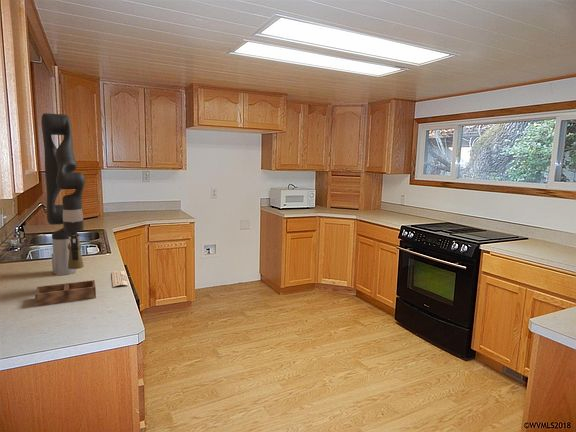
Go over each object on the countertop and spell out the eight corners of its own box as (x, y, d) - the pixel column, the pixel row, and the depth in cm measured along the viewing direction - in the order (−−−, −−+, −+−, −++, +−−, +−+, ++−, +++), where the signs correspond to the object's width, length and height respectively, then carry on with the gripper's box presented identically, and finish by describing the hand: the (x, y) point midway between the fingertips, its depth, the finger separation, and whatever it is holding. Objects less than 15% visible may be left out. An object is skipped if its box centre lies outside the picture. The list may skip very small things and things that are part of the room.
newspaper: (111, 274, 189) (111, 271, 189) (127, 273, 192) (127, 269, 192) (112, 289, 168) (112, 285, 168) (130, 287, 171) (130, 283, 171)
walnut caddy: (35, 306, 146) (34, 294, 146) (38, 297, 155) (37, 286, 154) (96, 297, 156) (95, 287, 155) (94, 290, 165) (94, 280, 164)
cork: (80, 264, 172) (78, 240, 170) (86, 267, 168) (84, 242, 167) (65, 267, 168) (63, 242, 166) (71, 270, 164) (69, 244, 162)
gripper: (63, 217, 169) (65, 255, 172) (62, 223, 157) (65, 263, 159) (82, 216, 173) (84, 253, 175) (83, 221, 160) (85, 261, 163)
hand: (75, 258), depth 167 cm, fingers closed on cork, 4 cm apart
